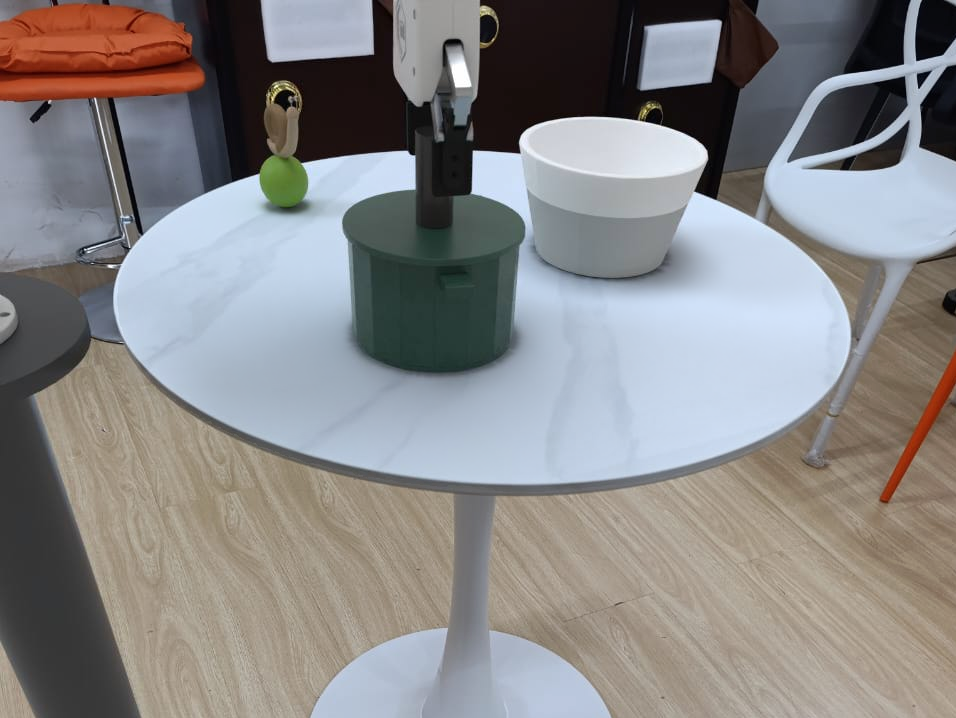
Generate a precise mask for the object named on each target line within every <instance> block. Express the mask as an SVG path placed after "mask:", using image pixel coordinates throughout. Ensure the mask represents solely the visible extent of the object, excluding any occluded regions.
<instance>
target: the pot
mask: <svg viewBox="0 0 956 718" xmlns="http://www.w3.org/2000/svg"><path fill="white" fill-rule="evenodd" d="M347 253H348V271H349V288H350V289H349V290H350V304H351V305H350V306H351V324H352V329H353V335H354V339H355V342H356V344H357V346H358V347H359V348H360V349H361V350H362V351H363V352H364V353H365V354H366V355H367V356H369V357H371V358H372V359H375V360H376V361H378V362H381V363H382V364H385V365H388V366H391V367H394V368H397V369H403V370H406V371H407V370H408V371H413V372H422V373H454V372H461V371H467V370H472V369H475V368H478V367H482V366H485V365H487V364H489V363H491V362H494V361H495V360H497V359H498V358H500V357H502V356H503V355H504V354H505V353H506V352H507V350H508V349H509V347H510V345H511V343H512V340H513V339H512V338H513V332H514V328H515V327H514V325H515V315H516V298H517V287H518V285H517V284H518V272H519V260H520V259H519V258H520V246H519V247H518V248H516V249H515V250H514V251H512V252H510V253H509V254H507V255H505V256H502V257H500V258H497V259H494V260H491V261H487V262H482V263H477V264H471V265H462V266H444V267H440V266H420V265H411V264H404V263H399V262H394V261H390V260H386V259H382V258H379V257H376V256H373V255H371V254H368V253H366V252H364V251H362V250H360V249H359V248H357V247H355V246H354V245H353V244H351V243H350V242H349V241H348V240H347Z"/></svg>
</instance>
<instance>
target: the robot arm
mask: <svg viewBox="0 0 956 718" xmlns="http://www.w3.org/2000/svg"><path fill="white" fill-rule="evenodd" d="M392 1H393V3H392V4H393V7H392V8H393V9H392V11H393V13H392V15H393V17H392V18H393V19H392V20H393V23H392V25H393V28H392V29H393V30H392V31H393V32H392V33H393V35H392V36H393V37H392V41H393V42H392V45H393V46H392V56H393V57H392V65H393V66H392V68H393V69H392V70H393V75H394V77H395V79H396V81H397V83H398V84H399V86H400V87H401V89H402V90H403V92H404V93H405V95H406V97H407V101H406V102H405V110H406V112H405V114H406V150H407V152H408V154H409V155H410V156H413V157H415V130H416V129H417V128H419V127H422V126H431V125H433V127H434V135H435V139H430V142H431V192H432V194H433V195H434V196H435V197H446V196H464V195H469V194H470V193H471V194H472V191H473V169H474V167H473V163H474V126H473V125H474V124H473V122H474V118H473V116H474V112H473V111H472V109H471V108H472V103H473V102H474V101H475V100H476V99H477V96H478V91H479V90H478V89H479V79H480V77H479V76H480V50H481V49H480V46H481V45H480V43H481V41H480V40H481V39H480V37H481V35H480V34H481V0H392ZM17 325H18V316H17V313H16V311H15V308H14V305H13V304H12V303H11V302H10V301H9V299H7V298H5V297H4V296H2V295H0V344H2V343H3V342H4V341H6V340H7V339H8V338H9V337H10V336H11V335H12V334H13V332H14V331H15V330H16V328H17Z"/></svg>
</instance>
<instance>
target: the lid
mask: <svg viewBox="0 0 956 718" xmlns="http://www.w3.org/2000/svg"><path fill="white" fill-rule="evenodd" d="M430 139H435V135H434V127H433V125H431V126H422V127H419V128H417V129H416V130H415V156H414V170H415V173H414V174H415V175H414V176H415V177H414V180H415V183H414V185H415V186H414V187H415V188H414V189H404V190H395V191H389V192H384V193H380V194H376V195H373V196H369V197H367V198H364V199H361V200H360V201H358V202H356V203H354V204H353V205H352V206H350V207H349V208H348V209H347V210H346V211H345V212H344V214H343V216H342V221H341V226H342V227H341V228H342V233H343V235H344V237H345V238H346V240H347V242H348V241H349V242H350V243H351V244H353V245H354V246H355V247H357V248H359V249H360V250H362V251H364V252H366V253H368V254H371V255H373V256H376V257H379V258H382V259H386V260H390V261H394V262H399V263H404V264H411V265H420V266H440V267H444V266H462V265H471V264H477V263H482V262H487V261H491V260H494V259H497V258H500V257H502V256H505V255H507V254H509V253H510V252H512V251H514V250H515V249H516V248H518V247H519V248H520V246H521V244H522V243H523V242H524V240H525V238H526V229H527V228H526V223H525V221H524V219H523V217H522V216H521V215H520V214H519V212H517V211H516V210H514V209H513V208H511V207H510V206H508V205H506V204H505V203H502V202H501V201H498V200H494V199H493V198H489V197H486V196H483V195H480V194H475V193H472V192H471V193H470V194H469V195H464V196H446V197H435V196H434V195H433V194H432V192H431V142H430Z"/></svg>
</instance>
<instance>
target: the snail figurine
mask: <svg viewBox="0 0 956 718" xmlns="http://www.w3.org/2000/svg"><path fill="white" fill-rule="evenodd" d="M299 100H300V99H299V96H298V95H296V94H295V95H293V96H291V95H289V96H288V98H287V101H288V102H289V103H290V106H289V107H287V109H286V111H285V109H284V108H283V107H282V106H281V105H280V104H277V103H270V104H268V105H267V106H266V107H265V109H264V114H263V123H264V128H265V131H266V133H267V135H268V138H267V140H266V143H267V145H268V148H269V150H270V151H271V153H272V154H273V155H271V156H270V157H268V158H267V159H265V161H264V162H263V163H262V165H261V168H260V170H259V177H258V179H259V180H258V181H259V185H260V190H261V191H262V194H263V195H264V196H265V198H266V199H267V200H268V201H269V202H270V203H272V204H273V205H275V206H278V207H280V208H292V207H294V206H296V205H299V204H300V203H301V202H303V200H304V198H305V197H306V196H307V192H308V189H309V177H308V173H307V170H306V168H305V167H304V165H303V164H302V162H301V161H300V160H299V159H297V158H296V157H294V153H296V150H297V146H298V141H299V118H300V114H299V111H298V101H299ZM294 102H295V104H296V107H295V106H293V103H294Z"/></svg>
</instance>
